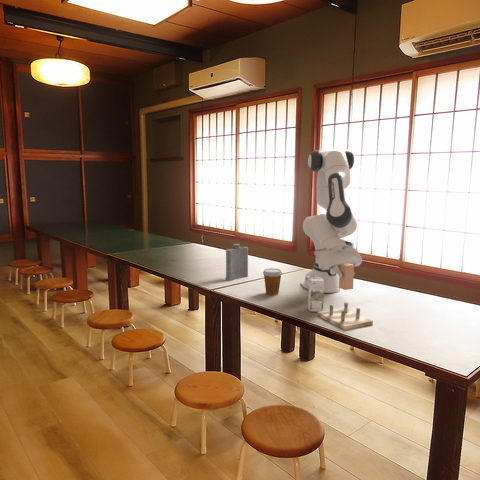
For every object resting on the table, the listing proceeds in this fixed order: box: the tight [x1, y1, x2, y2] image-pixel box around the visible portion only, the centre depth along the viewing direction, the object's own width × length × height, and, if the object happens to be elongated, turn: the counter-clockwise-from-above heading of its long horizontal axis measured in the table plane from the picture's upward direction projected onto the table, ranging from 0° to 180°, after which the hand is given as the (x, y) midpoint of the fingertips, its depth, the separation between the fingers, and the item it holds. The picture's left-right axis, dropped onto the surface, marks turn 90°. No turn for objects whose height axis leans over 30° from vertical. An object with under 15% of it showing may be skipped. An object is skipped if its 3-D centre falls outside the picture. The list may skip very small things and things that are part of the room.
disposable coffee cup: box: [262, 267, 283, 296], centre depth 204 cm, size 10×10×12 cm
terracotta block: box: [339, 263, 355, 291], centre depth 165 cm, size 4×4×10 cm
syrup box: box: [307, 277, 325, 313], centre depth 179 cm, size 6×6×14 cm
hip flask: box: [225, 243, 249, 282], centre depth 233 cm, size 16×4×20 cm, turn 133°
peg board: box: [316, 302, 374, 331], centre depth 168 cm, size 18×14×6 cm
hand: (347, 275), depth 165 cm, fingers closed on terracotta block, 4 cm apart
